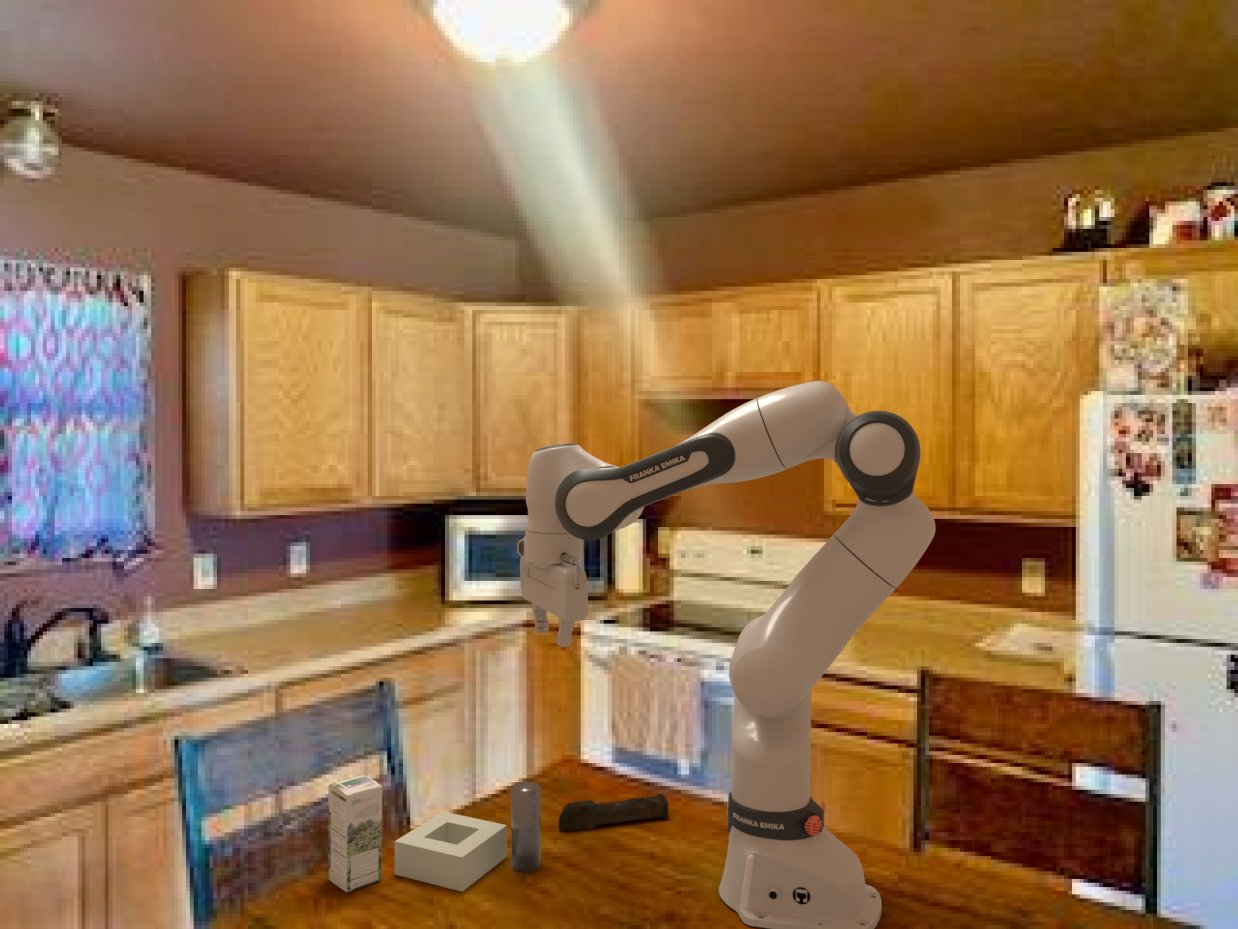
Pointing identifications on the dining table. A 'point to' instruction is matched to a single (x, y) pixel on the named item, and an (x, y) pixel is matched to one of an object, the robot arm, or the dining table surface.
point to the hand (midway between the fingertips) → (552, 639)
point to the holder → (451, 850)
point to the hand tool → (611, 812)
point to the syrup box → (354, 833)
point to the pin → (525, 826)
